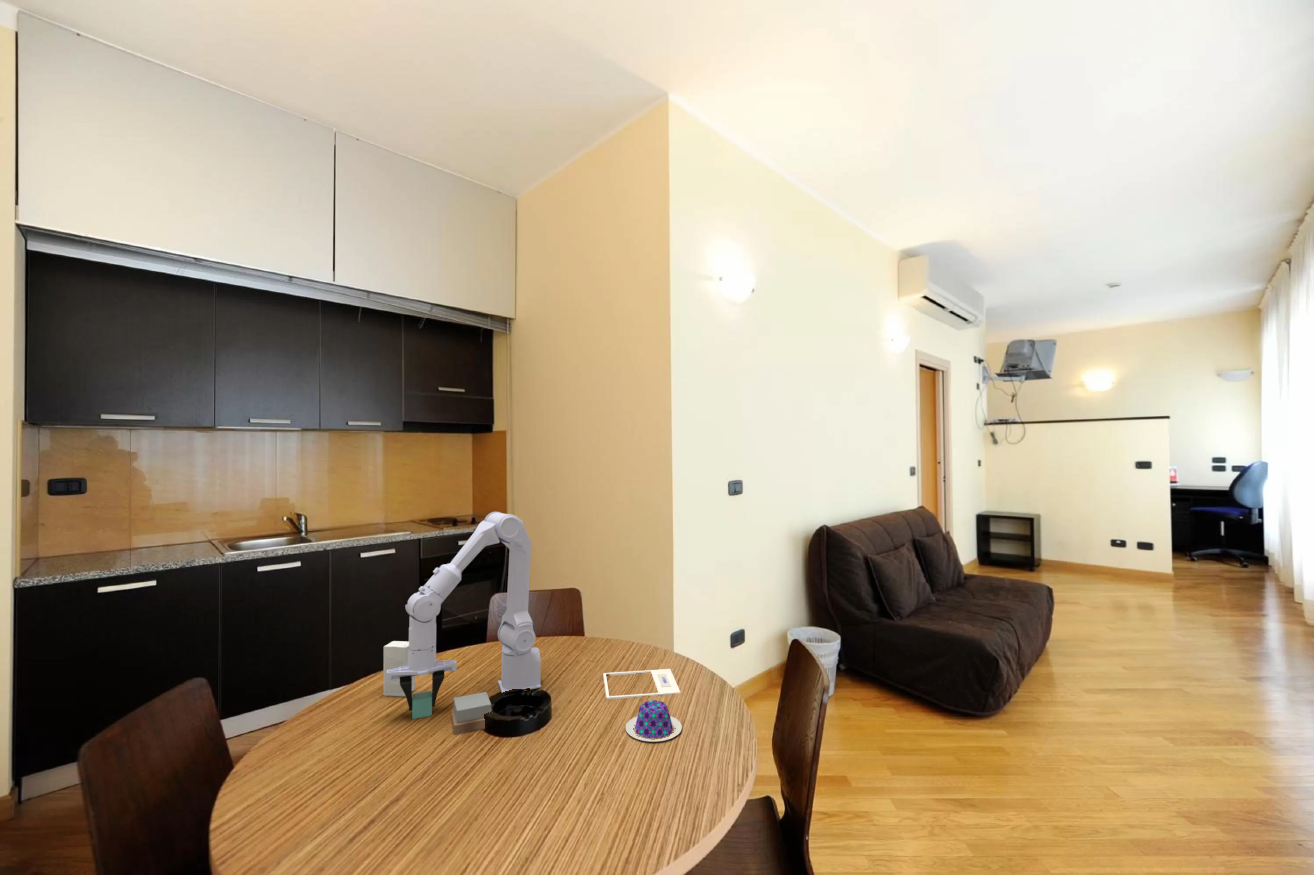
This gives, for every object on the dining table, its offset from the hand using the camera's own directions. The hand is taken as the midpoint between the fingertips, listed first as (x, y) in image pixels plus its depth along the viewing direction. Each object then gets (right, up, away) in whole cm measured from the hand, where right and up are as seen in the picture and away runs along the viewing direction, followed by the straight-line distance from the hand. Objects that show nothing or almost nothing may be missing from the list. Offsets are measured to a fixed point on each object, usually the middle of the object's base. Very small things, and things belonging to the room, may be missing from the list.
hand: (422, 706), depth 124 cm
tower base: (+13, -2, -4) cm, 14 cm away
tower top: (+13, +1, -4) cm, 13 cm away
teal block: (0, -1, 0) cm, 1 cm away
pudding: (+53, -2, -7) cm, 53 cm away
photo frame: (+49, -2, +15) cm, 51 cm away
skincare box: (-10, -2, +11) cm, 15 cm away
